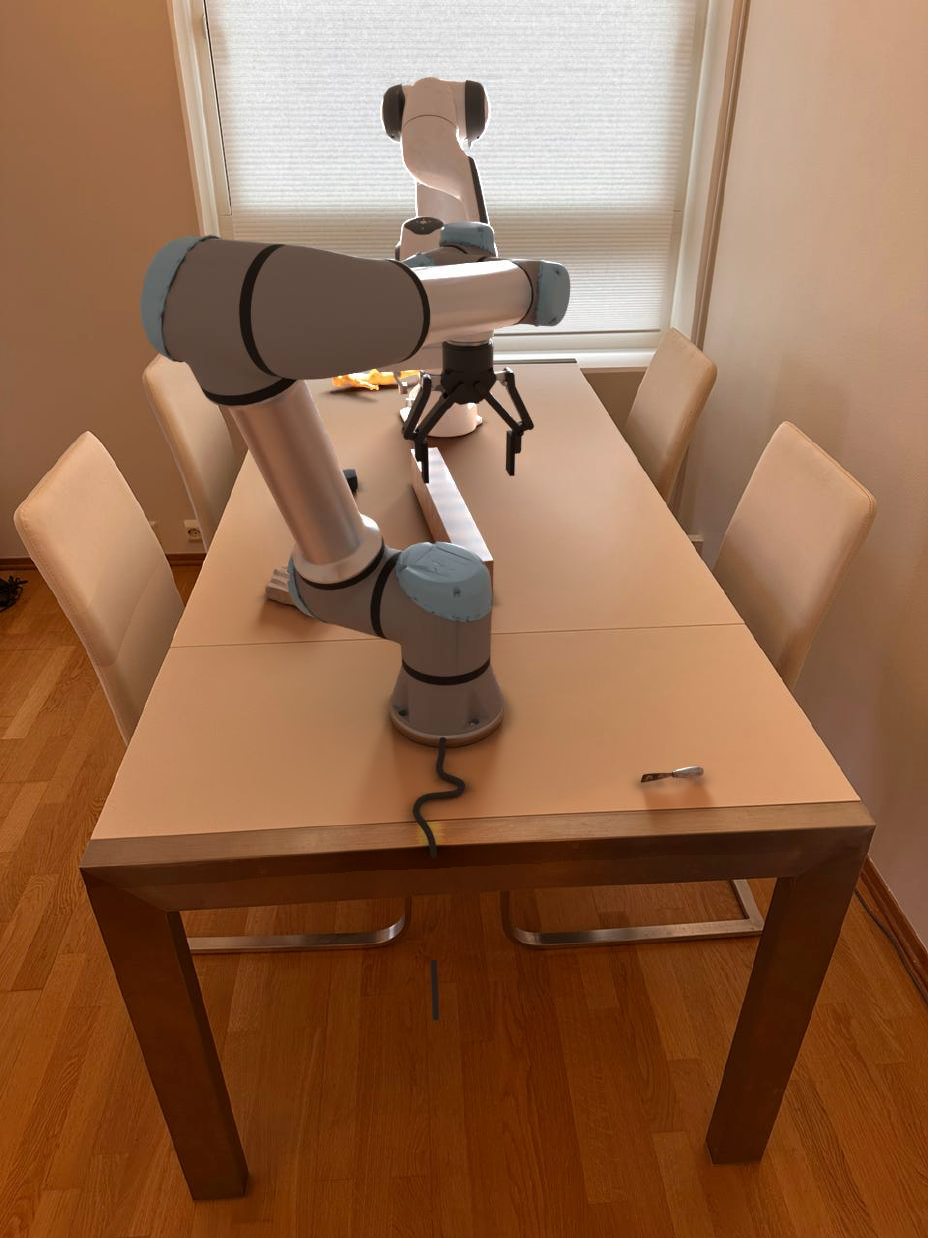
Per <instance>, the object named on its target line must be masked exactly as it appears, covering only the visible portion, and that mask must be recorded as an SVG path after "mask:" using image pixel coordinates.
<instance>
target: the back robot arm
mask: <svg viewBox="0 0 928 1238" xmlns="http://www.w3.org/2000/svg"><path fill="white" fill-rule="evenodd" d="M489 98H490V97H489V96H488V93H487V91H486V88H485V86H484V85H483V83H482V82H479V81H475V80H471V79H470V80H469V79H466V80H465V81H462V80H453V79H452V80H450V79H448V80H447V79H441V78H439V77H433V76H427V77H423V78H420V79H418V80H416V81H415V82H414V83H409V84H405V85H404V84H403V83H399V84H395V85H393V86H390V87H388V88H387V89H386V91H385V92H384V93H383V96H382V100H381V105H380V120H381V124H382V127H383V130H384V132H385V135H386V137H387V138H388V139H389V140H390V141H392V142H393V143H397V144H400V150H401V157H402V162H403V165H404V167H405V169H406V171H407V172H408V173H409V175H410V176H412V178H413V179H414V184H415V185H414V188H415V213H416V216H415V217H413V218H410V219H407V220H406V221H404V222H403V224H402V225H401V233H400V241H399V242H398V243H397V244H396V246H395V248H394V257H395V258H394V260H397V261H400V262H402V261H404V260H406V259H408V258H410V257H412V255H415V254H416V253H424V252H427V251H430V250H433V249H437V248H439V241H440V231H441V229H442V227H443V226H444V225H445V224H449V223H454V222H479V223H485V224H488V225H489V226H491V225H490V220H489V215H488V210H487V205H486V199H485V195H484V189H483V184H482V179H481V175H480V171H479V168H478V165H477V162H476V160H475V158H474V157H472V156H471V155H469V154H467V152H465V150H464V148H463V142H465V141H467V146H468V150H470V149H472V148H473V143H475V142H477V141H479V140H480V139H481V138H482V137H483V136H484V134H485V133H486V132H487V128H488V125H489V122H490V118H491V103H490V99H489ZM495 252H496V256H495V257H499V254H498V250H497V247H496V245H495ZM376 370H377V371H378V372H379V373H384V372H392V375H393V377H394V379H395V380H396V381H395V382H396V383H397V384H398V393H399V396H402V395H408V394H409V395H408V397H407V398H405V399H404V402H405V403H404V404H405V408H403V409H401V410H400V413H399V414H400V417H401V419H402V421H403V423H404V422H405V420H406V418H407V416H408V414H409V411H410V409H411V407H412V405H413V403H414V400H415V398H416V396H417V394H418V391H419V389H420V383H421V375H422V374H423V373H427V374H428V375H429V376H440V375H441V373H442V342H439V343H435V344H430V345H426V346H423V347H422V348H421V350H420V351H419V352H418V353H417V354H416V355H415V356H413V357H412V358H410V359H408V360H406V361H404V362H401V363H397V364H393V365H389V366H386V367H381V368H377V369H376ZM414 370H420V373H419V376H418V381H417V382H418V383H417V385H416V386H414V387H413V388H412V390H410V392H409V391H408V389H409V386H408V384H407V382H402V381H401V379H399V377H401V371H414ZM444 391H445V390H444V389H443V387H442V386H441V385H437V386H436V388H435V390H434V391H431V394H430V397H429V400H428V402H427V404H426V406H425V408H424V410H423V413H422V415H421V417H420V419H419V421H418V424H417V426H416V428H417V427H418V426H419V424H420V423H421V422H422V420H423V419H424V418H425V417H426V415H427V414H428V413H429V411H430V410H431V409H432V408H433V406H434V405H435V404H436V403H437V401H438V400H439V397H440V396H441V394H442V393H443V392H444ZM477 405H478V404H472V403H468V404H465V405H459V404H457V403H454V404H453V405H452V407H451V408H450V409H448V410H447V411H446V412H445V414H444V415H443V416H442V417H441V419H440V420H439V421H438V423H437V424H436V425H435V426H434V428H433V429H432V430H431V431H430V433H429V434H428V435H427V436H431V437H437V438H450V437H451V438H453V437H458V436H464V435H467V434H469V433H471V432H473V431H475V430H476V428H477V426H479V425H481V424H482V423H483V418H482V417H481V416H479V415H478V407H477ZM416 428H415V429H416Z"/></svg>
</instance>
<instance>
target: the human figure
mask: <svg viewBox="0 0 928 1238" xmlns="http://www.w3.org/2000/svg"><path fill="white" fill-rule="evenodd" d="M419 373H420V370H414V371H401V377H399V379H400V380H402V379H404V378H408V377H411V376H414V375H417V376H418V377H419ZM331 382H332V384H333V386H334V387H339V388H342V387H345V386H346V383H348V384H350V385H351V386H352V387H354V388H363V387H364V388H367V389H369V390H371V391H372V390H374V389H375V390H376V391H379V389H380V388H379V385H380V386H382V385H383V386H388V385H390V384H393V383H395V382H396V380H395V379H394V377H393V375H392V372H384V373H379V372H378V371H377V370H376V369H373V370H370V371H369V372H368V373H367V374H366V373H361V372H360V373H356V374H351V375H345V376H340V377H333V378H331Z"/></svg>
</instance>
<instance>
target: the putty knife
mask: <svg viewBox="0 0 928 1238" xmlns="http://www.w3.org/2000/svg"><path fill="white" fill-rule="evenodd" d="M704 772H705V771H704V768H702V767H701V766H697V765H695V766H688V767H683V768H679V769H675V770H673V771H671V772H653V773H652V772H651V773H650V772H649V773H644V774H642V776H641V779H640V783H642V784H645V783H648V782H653V781H659V780H665V779H668V778H673V779H674V778H675V779H693V778H694V779H695V778H700V777H702V776H703V775H704Z"/></svg>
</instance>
